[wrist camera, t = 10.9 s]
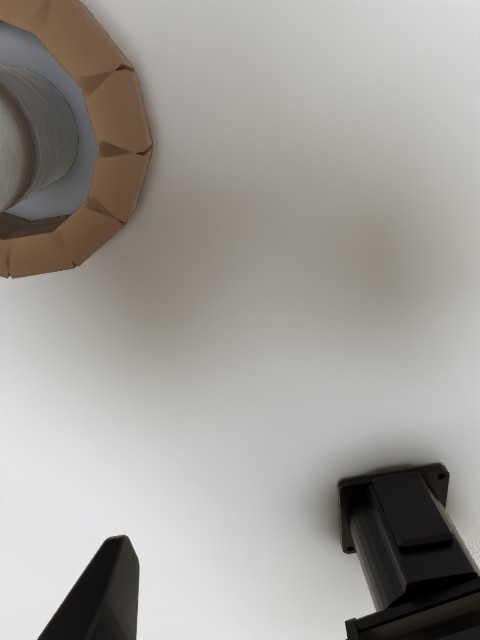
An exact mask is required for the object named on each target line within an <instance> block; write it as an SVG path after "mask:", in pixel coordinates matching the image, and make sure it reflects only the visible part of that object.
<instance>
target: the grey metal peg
mask: <svg viewBox="0 0 480 640" xmlns="http://www.w3.org/2000/svg"><path fill="white" fill-rule="evenodd" d="M77 150H78V129H77V125H76V121H75V118H74V115H73V113H72V110H71V108H70V106H69V105H68V103H67V101H66V100H65V98H64V97H63V96H62V94H61V93H60V92H59V91H58V90H57V89H56V88H55V87H54V86H53V85H52V84H51V83H50V82H49V81H47V80H46V79H45V78H43V77H42V76H40V75H38V74H37V73H34V72H32V71H30V70H27V69H25V68H21V67H16V66H10V65H4V64H0V213H1V212H3V211H5V210H7V209H8V208H10V207H12V206H14V205H15V204H17V203H19V202H20V201H22V200H24V199H26V198H27V197H29V196H31V195H33V194H34V193H36V192H38V191H40V190H41V189H43V188H45V187H47V186H48V185H50V184H52V183H54V182H55V181H57V180H59V179H60V178H61V177H63V176H64V175H65V174H66V173H67V172H68V170H69V169H70V168H71V166H72V164H73V162H74V160H75V158H76V154H77Z"/></svg>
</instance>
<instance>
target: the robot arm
mask: <svg viewBox="0 0 480 640" xmlns="http://www.w3.org/2000/svg"><path fill="white" fill-rule="evenodd" d="M448 483H449V472H448V470H447V469H446V467H445V466H443V465H436V466H430V467H424V468H418V469H411V470H405V471H399V472H393V473H387V474H381V475H374V476H368V477H362V478H356V479H350V480H345V481H342V482H340V483H339V485H338V502H339V519H340V537H341V546H342V550H343V552H344V553H347V554H351V553H357V554H358V557H359V560H360V563H361V566H362V570H363V573H364V576H365V579H366V582H367V585H368V588H369V591H370V594H371V597H372V600H373V603H374V606H375V609H376V613H373V614H370V615H367V616H364V617H362V618H359V619H356V618H352V619H349V620H347V621H345V625H346V631H347V637H348V639H346V640H480V570H479V568H478V566H477V565H476V563H475V561H474V559H473V558H472V556H471V554H470V552H469V551H468V549H467V547H466V545H465V544H464V542H463V540H462V539H461V537H460V535H459V533H458V532H457V530H456V528H455V526H454V525H453V523H452V521H451V519H450V518H449V516H448V514H447V512H446V511H445V507H446V499H447V491H448ZM138 592H139V560H138V557H137V555H136V553H135V550H134V548H133V546H132V544H131V541H130V539H129V537H128V536H126V535H119V536H113V537H109V538H107V539H106V540H105V541H104V542H103V544H102V545H101V547H100V548H99V550H98V551H97V553H96V554H95V555H94V557H93V558H92V560H91V561H90V563H89V564H88V566H87V567H86V569H85V570H84V572H83V573H82V574H81V576H80V577H79V579H78V580H77V582H76V583H75V585H74V586H73V588H72V589H71V591H70V592H69V594H68V595H67V596H66V598H65V599H64V601H63V602H62V604H61V605H60V607H59V608H58V610H57V611H56V613H55V614H54V615H53V617H52V618H51V620H50V621H49V623H48V624H47V626H46V627H45V629H44V630H43V632H42V633H41V635H40V636H39V637H38V639H37V640H136V634H137V613H138Z"/></svg>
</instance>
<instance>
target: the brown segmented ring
mask: <svg viewBox="0 0 480 640" xmlns="http://www.w3.org/2000/svg"><path fill="white" fill-rule="evenodd" d="M1 21H4V22H7V23H9V24H11V25H14V26H16V27H18V28H21V29H23V30H25V31H28V32H30V33H32V34H34V35H35V36H36V37H37V38H38V39H39V40H40V42H41V43H42V44H43V45H44V46H45V47H46V48H47V50H48V51H49V52H50V53H51V54H52V55H53V57H54V58H55V59H56V60H57V61H58V62H59V63H60V65H61V66H62V67H63V68H64V69H65V70H66V72H67V73H68V74H69V75H70V76H71V77H72V78H73V80H74V81H75V82H76V83H77V84H78V85H79V87H80V88H81V90H82V93H83V97H84V100H85V103H86V107H87V110H88V114H89V117H90V121H91V124H92V128H93V131H94V135H95V138H96V141H97V145H98V148H99V150H98V154H97V159H96V163H95V168H94V172H93V177H92V181H91V185H90V190H89V194H88V199H87V201H86V202H85V203H84V204H83V205H81V206H80V207H79V208H78V209H77V210H76V211H75V212H74V213H73V214H71V215H65V216H59V217H53V218H47V219H41V220H35V221H28V220H25V219H22V218H19V217H16V216H13V215H10V214H7V213H4V212H1V213H0V276H1V277H4V278H9V277H10V276H11V277H12V279H14V278H20V277H26V276H32V275H38V274H44V273H50V272H56V271H61V270H67V269H73V268H75V267H76V266H78V267H79V266H80V265H81V264H82V263H83V262H84V261H85V260H86V259H88V258H89V257H90V256H91V255H92V254H93V253H94V252H96V251H97V250H98V249H99V248H100V247H101V246H102V245H103V244H105V243H106V242H107V241H108V240H109V239H110V238H111V237H112V236H114V235H115V234H116V233H117V232H118V231H119V230H120V229H122V228H123V227H124V225H125V224H126V222H127V221H128V219H129V218H130V216H131V214H132V213H133V211H134V210H135V208H136V206H137V203H138V200H139V196H140V192H141V189H142V185H143V182H144V178H145V174H146V171H147V167H148V164H149V160H150V157H151V153H152V149H153V148H151V147H150V146H151V145H152V144H153V142H152V137H151V133H150V129H149V124H148V120H147V116H146V111H145V107H144V103H143V98H142V94H141V90H140V85H139V81H138V77H137V73H135V72H131V71H132V70H133V69H134V67H133V66H132V65H131V63H130V62H129V61H128V60H127V58H126V57H125V56H124V55H123V53H122V52H121V51H120V49H119V48H118V47H117V46H116V44H115V43H114V42H113V41H112V39H111V38H110V37H109V36H108V34H107V33H106V32H105V31H104V29H103V28H102V27H101V26H100V24H99V23H98V22H97V20H96V19H95V18H94V17H93V15H92V14H91V13H90V12H89V10H88V9H87V8H86V7H85V5H84V4H83V3H82V2H80V1H79V0H0V22H1Z"/></svg>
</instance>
